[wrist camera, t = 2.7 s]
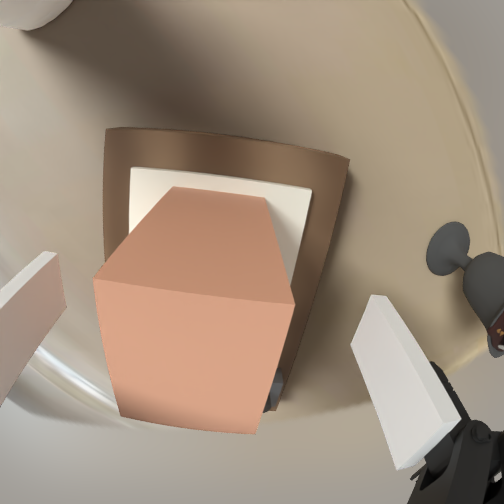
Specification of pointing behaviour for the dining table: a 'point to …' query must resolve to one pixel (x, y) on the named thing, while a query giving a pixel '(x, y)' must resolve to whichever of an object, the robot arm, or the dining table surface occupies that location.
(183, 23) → the dining table surface
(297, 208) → the stub
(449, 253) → the sundae
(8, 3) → the bottle
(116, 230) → the board
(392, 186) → the dining table surface
